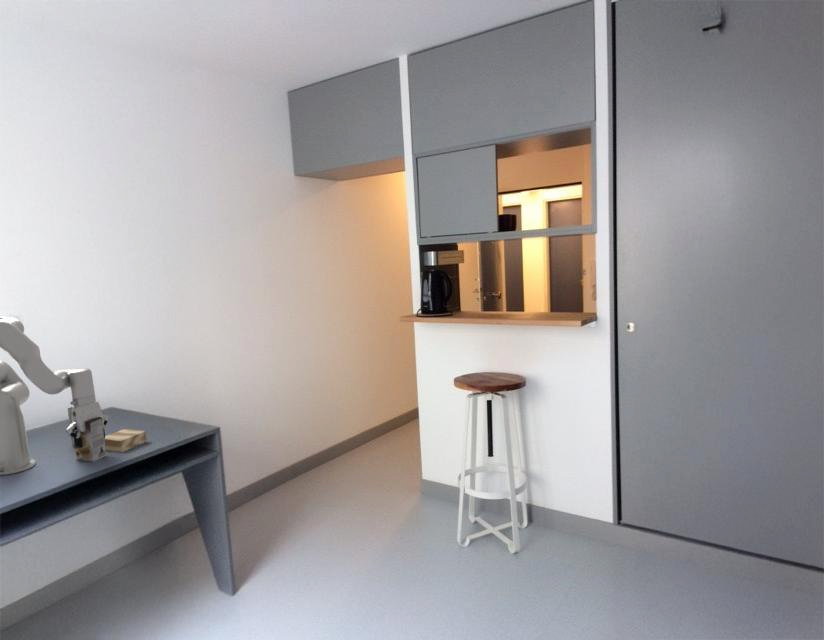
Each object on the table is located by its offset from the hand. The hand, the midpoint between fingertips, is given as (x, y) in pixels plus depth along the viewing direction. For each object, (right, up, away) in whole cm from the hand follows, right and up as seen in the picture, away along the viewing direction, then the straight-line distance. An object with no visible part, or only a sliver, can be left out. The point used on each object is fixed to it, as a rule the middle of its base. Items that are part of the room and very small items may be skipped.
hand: (90, 442), depth 208 cm
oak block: (+6, -5, +13) cm, 15 cm away
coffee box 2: (0, -6, +1) cm, 6 cm away
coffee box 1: (-14, -4, +20) cm, 25 cm away
